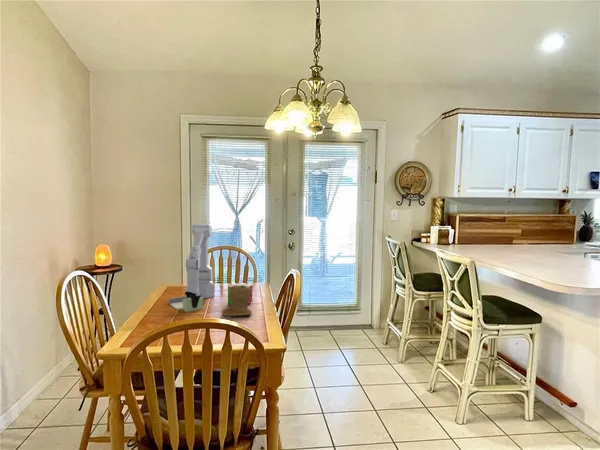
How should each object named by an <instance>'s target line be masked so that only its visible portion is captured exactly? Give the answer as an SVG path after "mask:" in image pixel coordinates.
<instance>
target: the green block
mask: <svg viewBox="0 0 600 450" xmlns="http://www.w3.org/2000/svg"><path fill="white" fill-rule="evenodd" d="M203 299H204V298H202V297H200V299H199V301H198V305H197V307H196V308H193V307H192V301H191V297H190V298H183V309H182V311H184V312H185V313H189V312H195V311H199V310H200V311H201V310H203V307H204V305H203Z"/></svg>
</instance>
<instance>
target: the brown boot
mask: <svg viewBox="0 0 600 450" xmlns="http://www.w3.org/2000/svg"><path fill="white" fill-rule="evenodd" d="M230 286H231V288H230V300H231V305H230V306H228V307H227V308H226V307H225V308H223V309H222V310H221V317H241V316H250V315H252V314H253V312H252V310H251V309H250V308H249V307H248V305H249V304H248V301H249V298H250V287H248V286H238V285H237V286H232V285H230Z"/></svg>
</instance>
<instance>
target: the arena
mask: <svg viewBox="0 0 600 450" xmlns="http://www.w3.org/2000/svg"><path fill="white" fill-rule="evenodd" d="M183 298H187V297H186V295H185V296H177V297H171V298H168V305H169V306H171V307H172V308H173V309H175V310H183ZM204 299H205V298H203V306H204V305H205V300H204Z"/></svg>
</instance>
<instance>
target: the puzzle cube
mask: <svg viewBox="0 0 600 450" xmlns="http://www.w3.org/2000/svg"><path fill="white" fill-rule="evenodd" d="M237 285H238V286H248V287H250V298H249V301H248V305H250V304H252V303H253V285H251V284H245V283H239V282H238V283H235V284H233V285H229V286H228V287H227V295H228V296H227V305H228V304H229V305H230V306H231V300H230V288H231V286H237ZM251 302H252V303H251ZM249 303H250V304H249Z"/></svg>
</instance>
